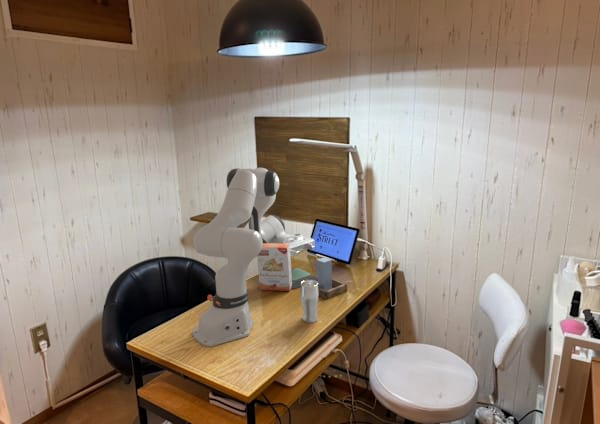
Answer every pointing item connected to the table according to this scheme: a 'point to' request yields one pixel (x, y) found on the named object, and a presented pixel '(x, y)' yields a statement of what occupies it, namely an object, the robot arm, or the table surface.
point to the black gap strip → (298, 283)
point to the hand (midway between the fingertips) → (305, 251)
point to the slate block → (324, 273)
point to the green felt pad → (299, 274)
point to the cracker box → (275, 267)
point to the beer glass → (309, 300)
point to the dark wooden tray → (337, 290)
